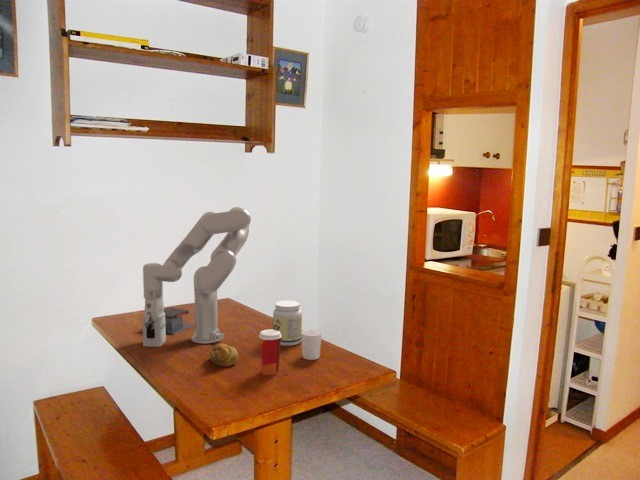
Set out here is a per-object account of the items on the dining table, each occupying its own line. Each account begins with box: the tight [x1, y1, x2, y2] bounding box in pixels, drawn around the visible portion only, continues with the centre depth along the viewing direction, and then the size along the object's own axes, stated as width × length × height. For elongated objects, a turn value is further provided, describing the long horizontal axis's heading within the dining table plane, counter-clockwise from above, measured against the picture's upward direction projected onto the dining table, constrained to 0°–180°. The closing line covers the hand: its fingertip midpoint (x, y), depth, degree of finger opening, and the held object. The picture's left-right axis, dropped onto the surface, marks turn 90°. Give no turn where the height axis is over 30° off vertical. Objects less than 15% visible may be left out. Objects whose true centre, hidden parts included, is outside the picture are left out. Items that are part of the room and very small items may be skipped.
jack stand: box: [164, 306, 193, 336], centre depth 238 cm, size 13×13×8 cm
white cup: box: [301, 329, 322, 361], centre depth 205 cm, size 8×8×10 cm
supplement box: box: [142, 313, 167, 348], centre depth 217 cm, size 7×7×13 cm
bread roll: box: [209, 342, 239, 368], centre depth 198 cm, size 13×10×8 cm
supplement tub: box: [272, 300, 303, 347], centre depth 222 cm, size 12×12×17 cm
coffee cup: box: [258, 328, 282, 376], centre depth 189 cm, size 8×8×15 cm
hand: (154, 334), depth 217 cm, fingers closed on supplement box, 7 cm apart
